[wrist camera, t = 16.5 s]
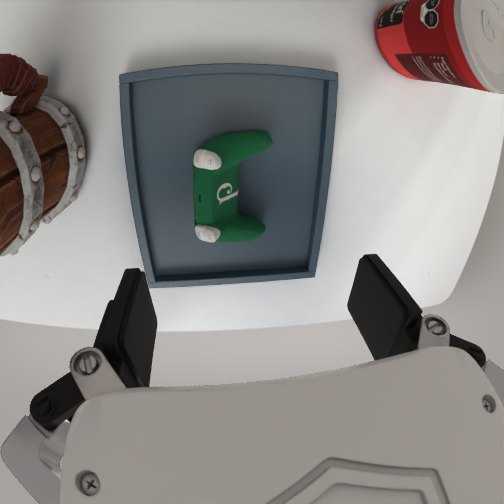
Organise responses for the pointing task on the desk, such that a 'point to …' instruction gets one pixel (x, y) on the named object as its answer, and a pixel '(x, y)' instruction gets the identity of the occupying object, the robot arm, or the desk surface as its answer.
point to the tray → (250, 170)
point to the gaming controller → (224, 187)
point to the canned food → (445, 42)
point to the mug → (34, 155)
